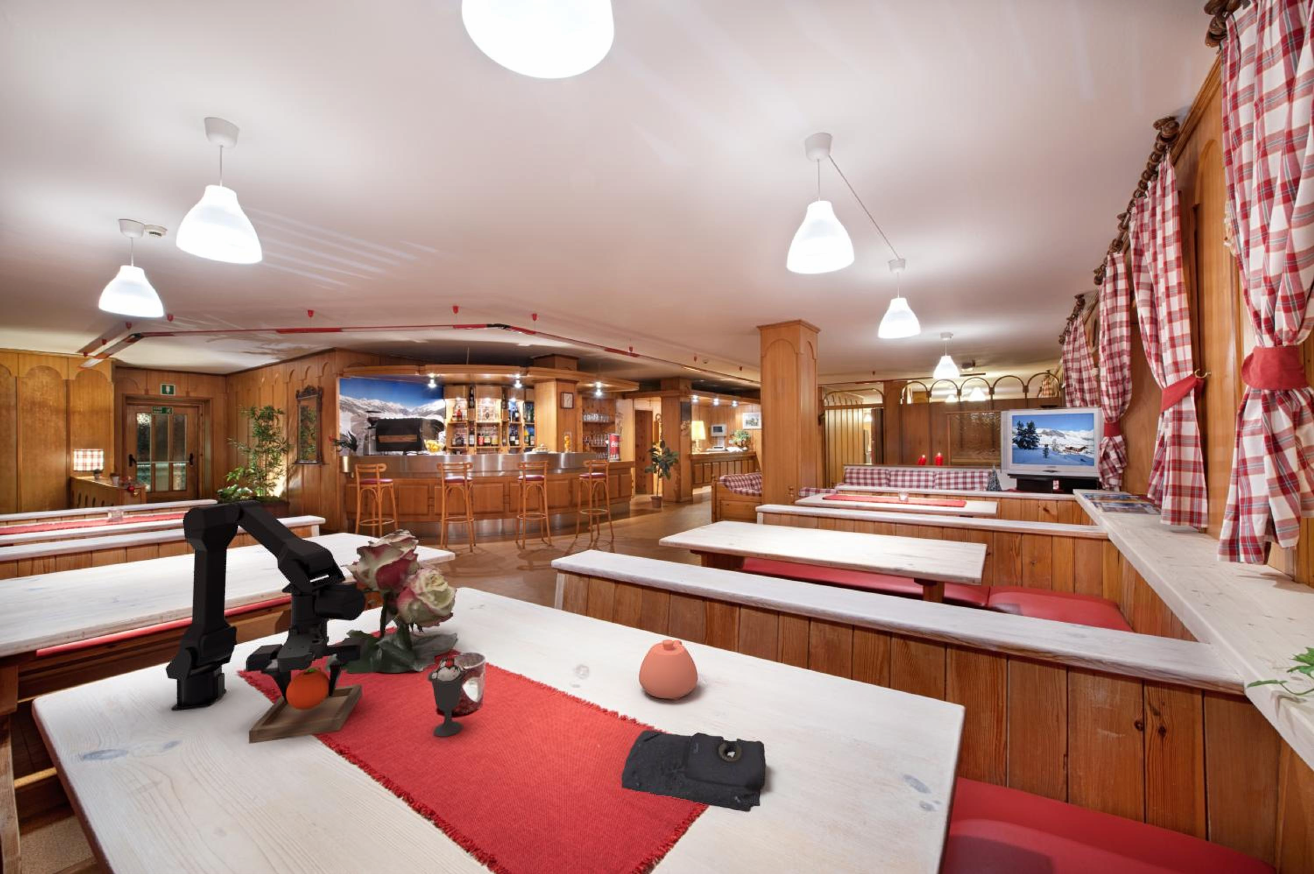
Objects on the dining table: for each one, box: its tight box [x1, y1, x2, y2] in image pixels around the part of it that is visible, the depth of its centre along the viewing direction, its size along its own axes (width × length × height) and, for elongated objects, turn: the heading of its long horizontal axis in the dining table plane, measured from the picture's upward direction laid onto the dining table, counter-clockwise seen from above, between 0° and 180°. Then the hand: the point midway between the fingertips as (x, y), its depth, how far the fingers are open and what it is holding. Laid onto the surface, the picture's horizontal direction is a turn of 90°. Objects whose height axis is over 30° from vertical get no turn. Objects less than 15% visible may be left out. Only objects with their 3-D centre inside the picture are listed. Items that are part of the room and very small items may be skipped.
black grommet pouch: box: [621, 729, 767, 813], centre depth 82 cm, size 15×22×5 cm
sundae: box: [427, 648, 468, 738], centre depth 94 cm, size 7×7×15 cm
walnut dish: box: [248, 683, 363, 744], centre depth 99 cm, size 14×14×2 cm
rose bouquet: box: [323, 529, 458, 674], centre depth 130 cm, size 26×29×30 cm
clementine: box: [286, 666, 330, 710], centre depth 99 cm, size 8×7×7 cm
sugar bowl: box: [638, 638, 699, 701], centre depth 109 cm, size 12×14×10 cm
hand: (309, 697), depth 99 cm, fingers closed on clementine, 7 cm apart
